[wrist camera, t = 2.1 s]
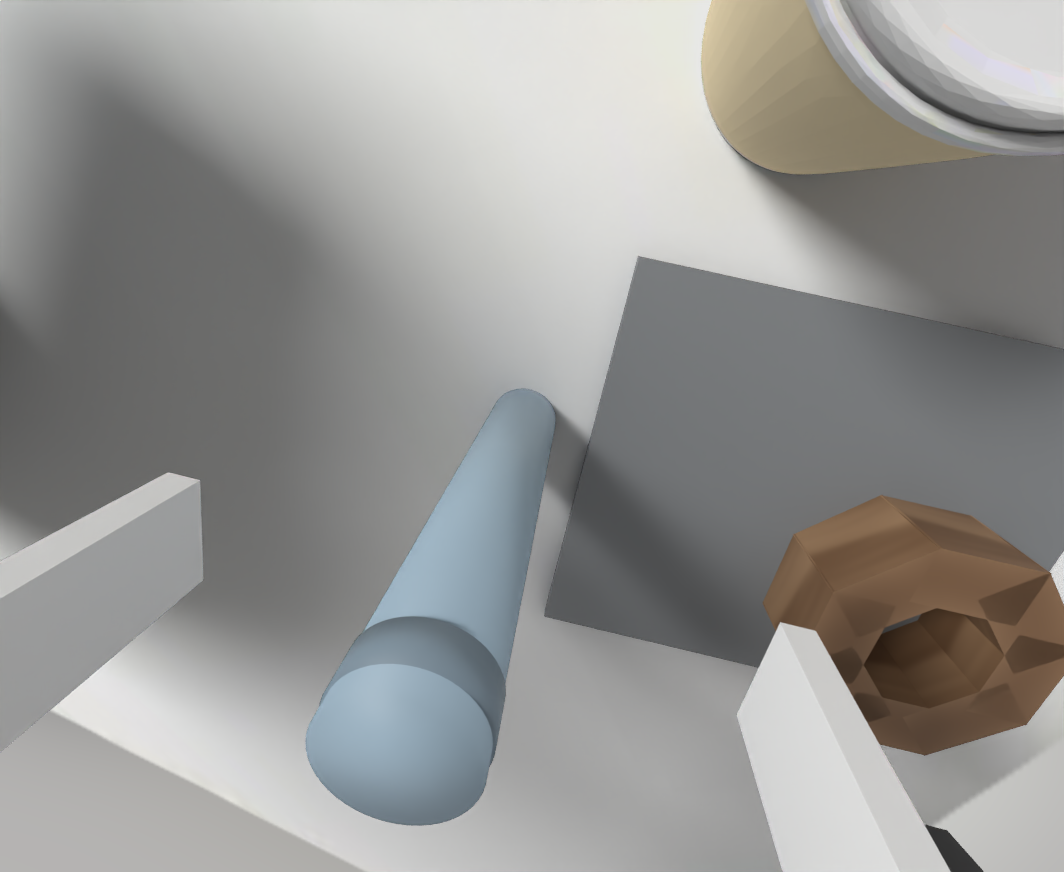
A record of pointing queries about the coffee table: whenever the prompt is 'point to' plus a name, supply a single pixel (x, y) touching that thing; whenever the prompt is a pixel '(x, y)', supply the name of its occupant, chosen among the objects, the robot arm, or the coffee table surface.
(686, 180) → the coffee table surface
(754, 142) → the coffee cup
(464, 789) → the blue rounded-end rod
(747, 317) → the mat
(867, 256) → the coffee table surface
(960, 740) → the bead
